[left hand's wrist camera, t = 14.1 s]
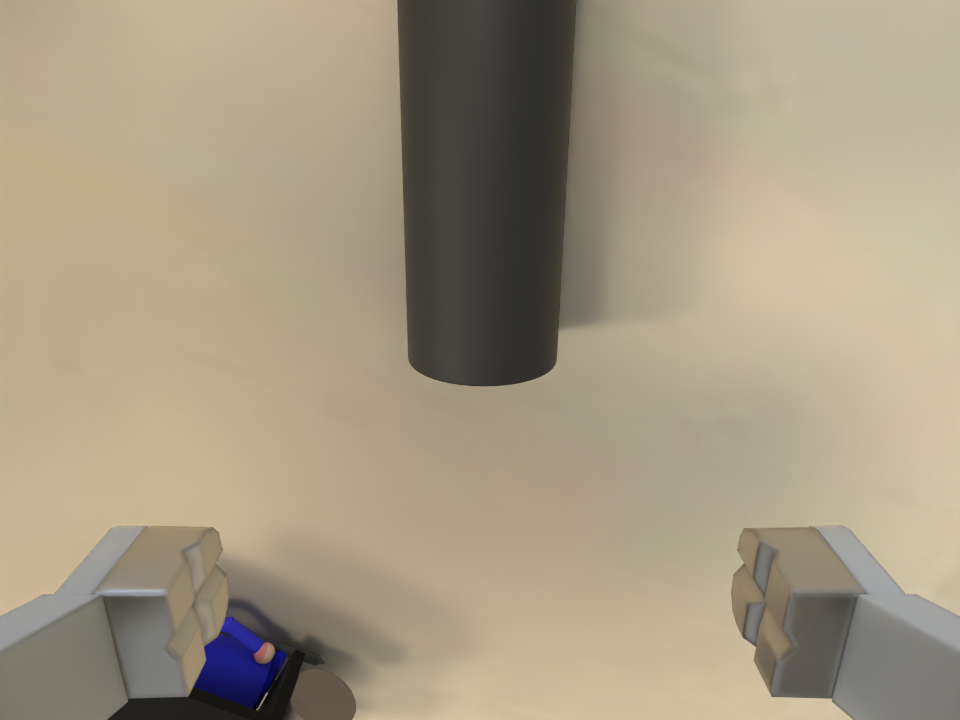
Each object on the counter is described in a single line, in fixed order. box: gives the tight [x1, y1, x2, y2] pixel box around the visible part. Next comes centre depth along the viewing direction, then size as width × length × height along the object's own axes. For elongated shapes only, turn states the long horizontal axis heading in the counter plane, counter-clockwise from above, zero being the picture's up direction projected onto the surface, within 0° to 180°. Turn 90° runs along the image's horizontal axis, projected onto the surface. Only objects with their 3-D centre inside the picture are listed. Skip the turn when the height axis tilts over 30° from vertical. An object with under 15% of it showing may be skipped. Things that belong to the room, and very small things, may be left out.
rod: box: [397, 0, 576, 386], centre depth 24 cm, size 22×6×6 cm, turn 179°
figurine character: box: [107, 617, 356, 720], centre depth 34 cm, size 7×8×15 cm
